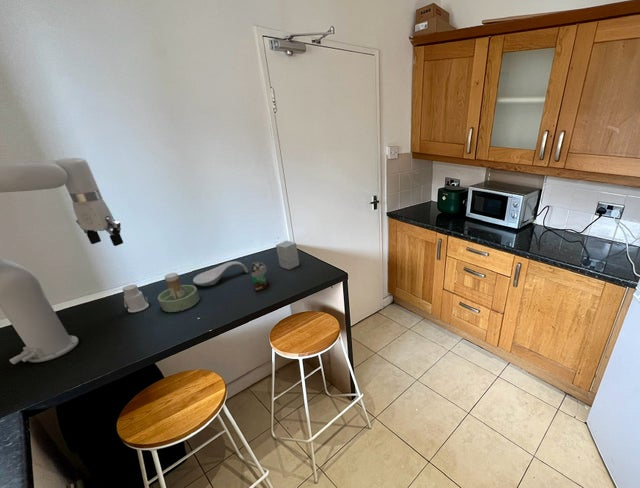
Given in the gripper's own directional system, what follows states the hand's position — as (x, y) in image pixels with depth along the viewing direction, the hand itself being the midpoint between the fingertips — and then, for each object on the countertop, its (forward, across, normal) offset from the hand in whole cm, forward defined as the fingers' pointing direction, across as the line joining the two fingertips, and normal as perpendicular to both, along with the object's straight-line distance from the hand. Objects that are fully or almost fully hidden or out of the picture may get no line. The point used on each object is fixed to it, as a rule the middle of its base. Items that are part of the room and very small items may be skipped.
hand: (107, 243), depth 113 cm
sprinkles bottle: (+30, +12, +9) cm, 33 cm away
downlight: (+31, -3, +3) cm, 31 cm away
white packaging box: (+31, +39, +52) cm, 72 cm away
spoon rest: (+31, +14, +32) cm, 46 cm away
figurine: (+31, +37, +30) cm, 57 cm away
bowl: (+30, +12, +9) cm, 34 cm away
